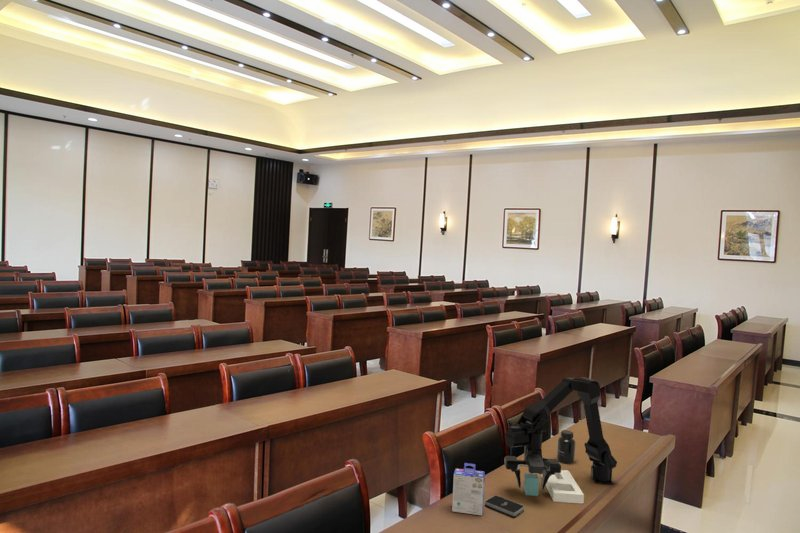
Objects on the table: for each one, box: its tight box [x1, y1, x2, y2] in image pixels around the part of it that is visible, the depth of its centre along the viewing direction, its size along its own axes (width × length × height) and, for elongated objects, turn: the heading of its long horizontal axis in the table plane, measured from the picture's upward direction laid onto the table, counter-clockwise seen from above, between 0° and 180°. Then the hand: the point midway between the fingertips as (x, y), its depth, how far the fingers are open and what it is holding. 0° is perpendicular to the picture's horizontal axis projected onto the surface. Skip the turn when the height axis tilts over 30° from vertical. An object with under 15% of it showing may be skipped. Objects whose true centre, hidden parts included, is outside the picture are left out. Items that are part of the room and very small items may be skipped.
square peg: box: [523, 472, 540, 497], centre depth 178 cm, size 4×4×6 cm
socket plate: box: [540, 469, 585, 505], centre depth 182 cm, size 10×20×3 cm, turn 176°
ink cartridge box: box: [451, 462, 486, 516], centre depth 164 cm, size 10×6×14 cm, turn 78°
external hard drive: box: [484, 494, 525, 519], centre depth 166 cm, size 7×11×2 cm, turn 49°
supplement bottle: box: [556, 429, 576, 465], centre depth 209 cm, size 7×7×12 cm
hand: (531, 488), depth 178 cm, fingers open, 8 cm apart
